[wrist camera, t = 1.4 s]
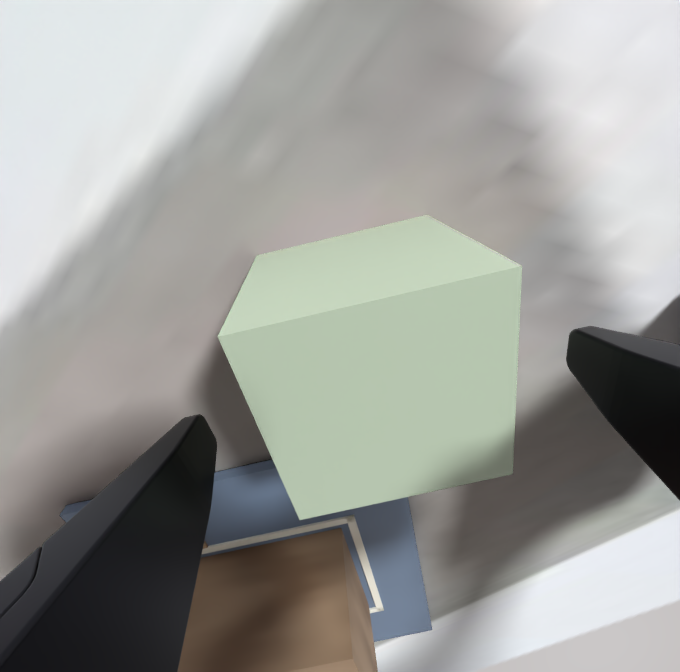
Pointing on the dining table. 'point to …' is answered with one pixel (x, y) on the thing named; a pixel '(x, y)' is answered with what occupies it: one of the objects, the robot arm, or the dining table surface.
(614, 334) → the robot arm
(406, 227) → the sage cube
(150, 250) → the dining table surface
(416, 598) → the board
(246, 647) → the walnut base block
